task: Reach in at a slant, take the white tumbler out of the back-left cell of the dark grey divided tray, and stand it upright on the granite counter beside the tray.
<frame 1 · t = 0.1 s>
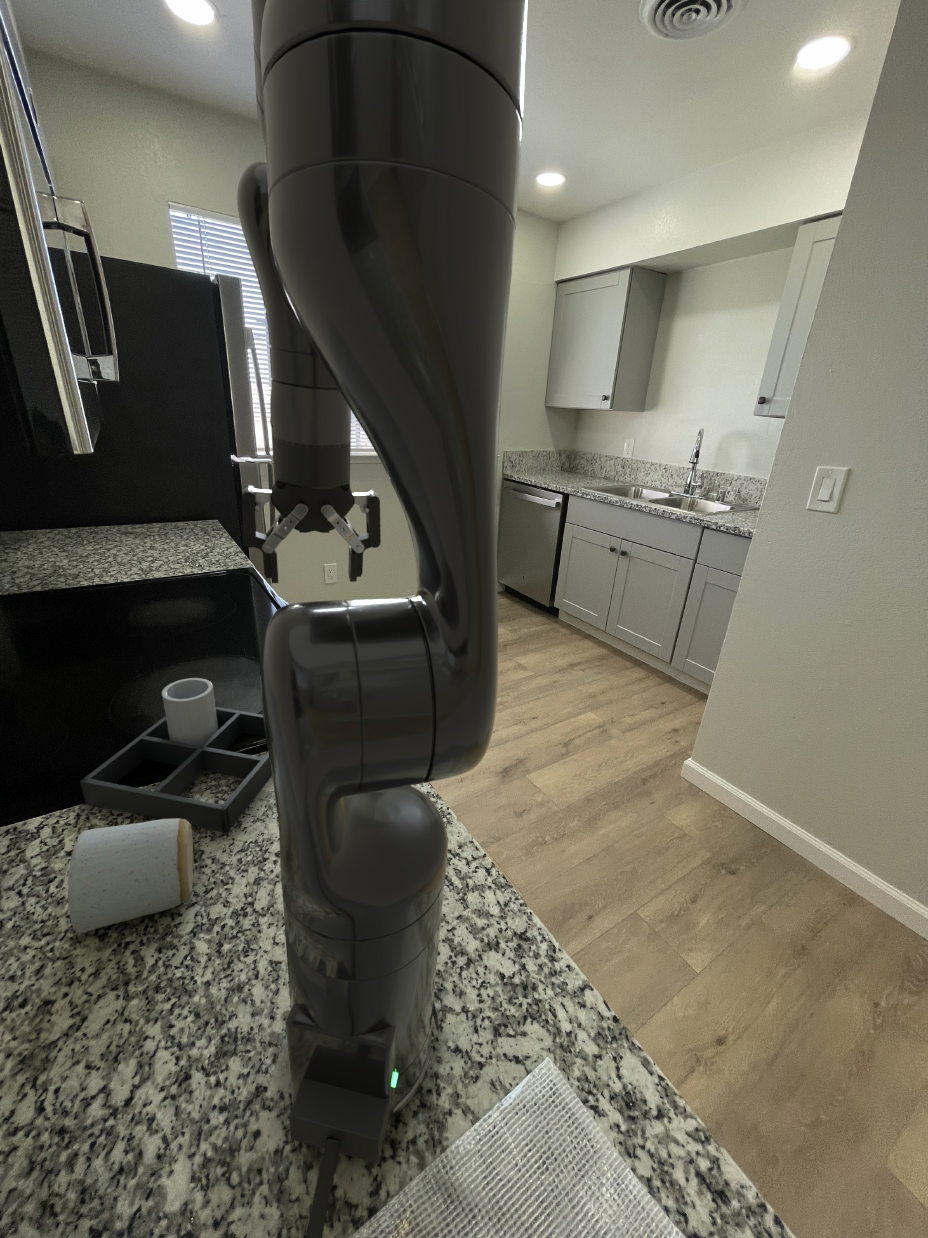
hand: (314, 579, 58), 22 cm above the countertop, tool pointing down, fingers open, 8 cm apart
ceramic mug: (142, 890, 45), on the countertop
white tumbler: (195, 743, 64), resting in dark grey divided tray
dark grey divided tray: (204, 768, 60), on the countertop
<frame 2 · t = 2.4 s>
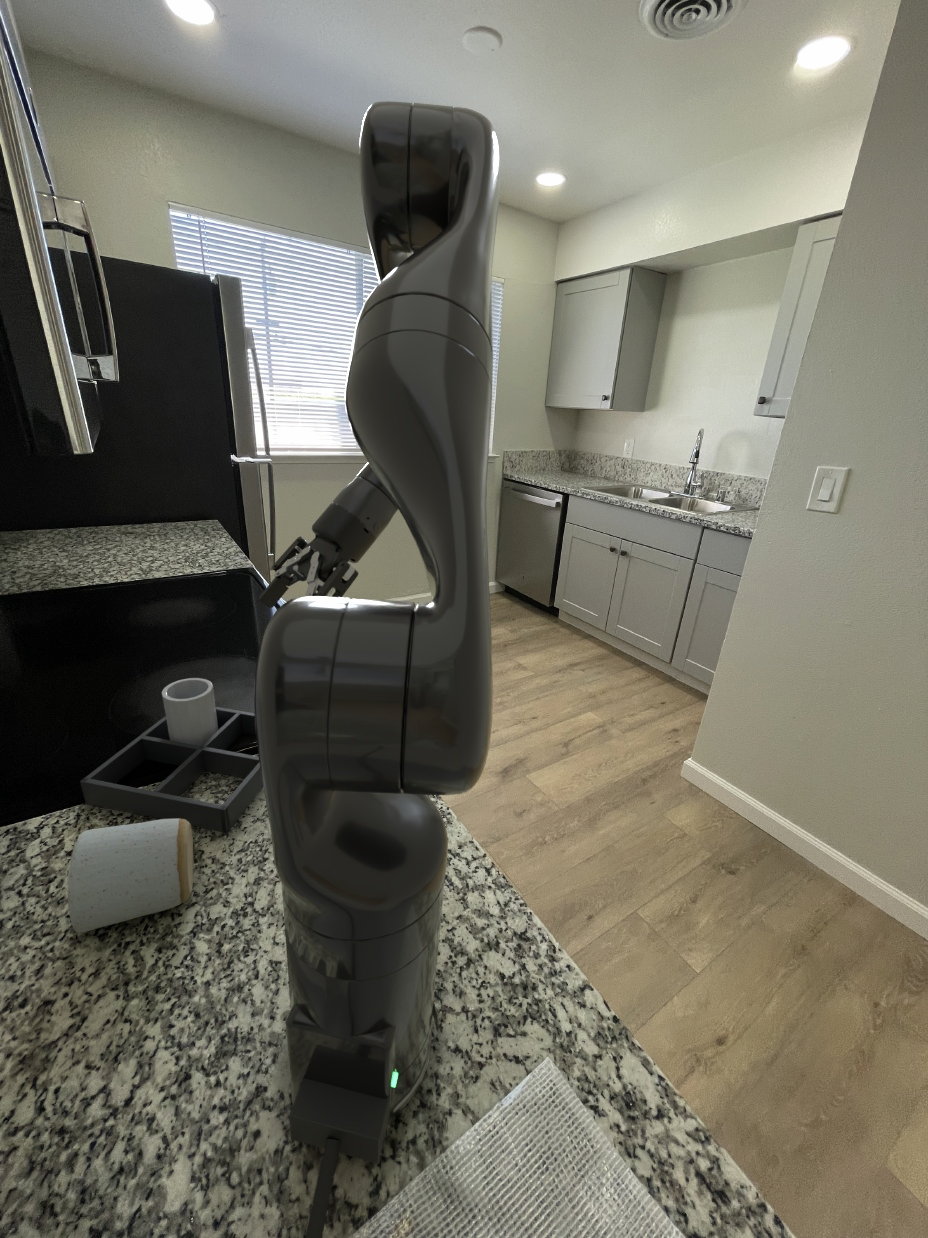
hand: (277, 615, 66), 15 cm above the countertop, tool tilted 45°, fingers open, 8 cm apart
nothing on the countertop moved.
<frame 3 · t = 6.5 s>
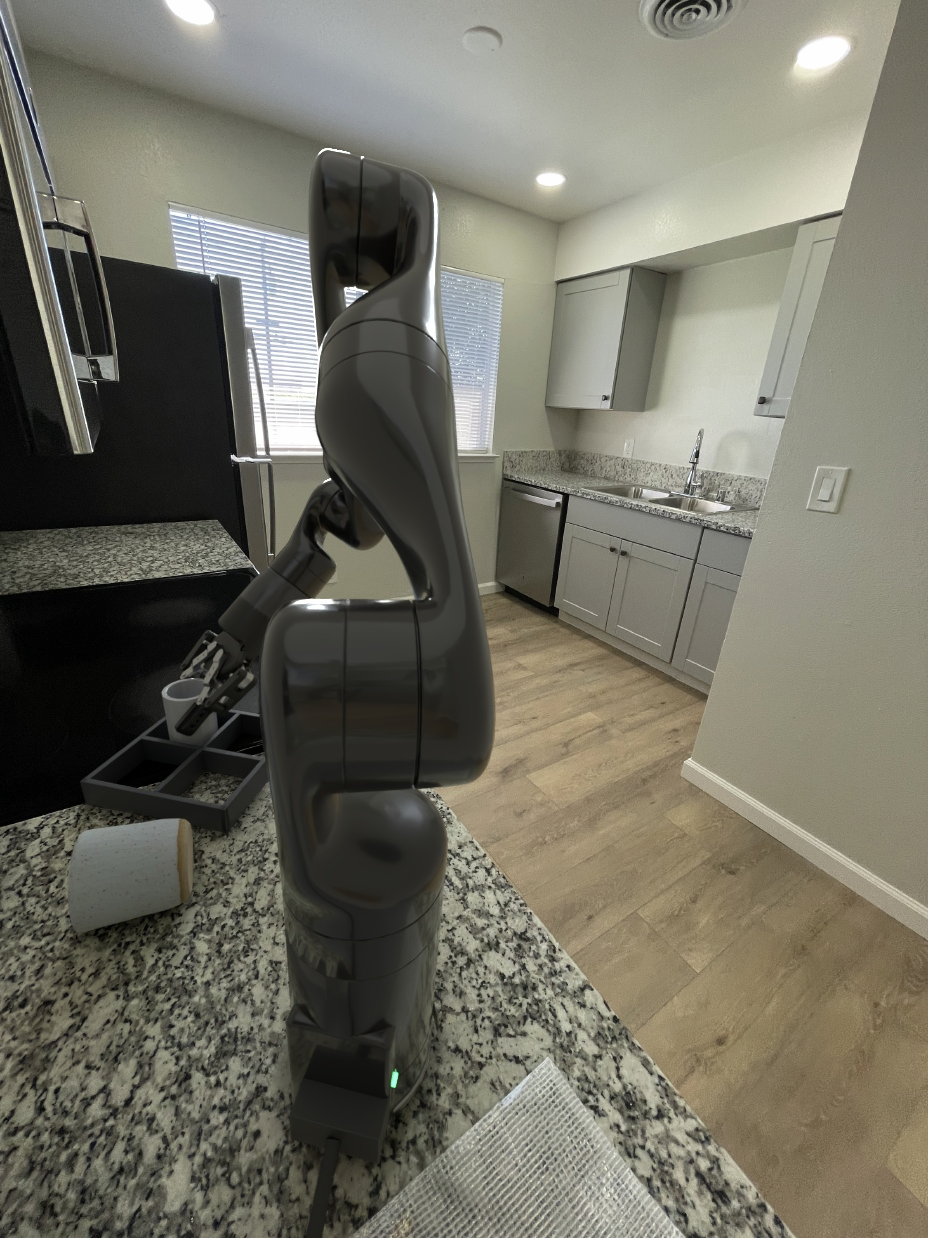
hand: (175, 720, 62), 4 cm above the countertop, tool tilted 45°, fingers closed on white tumbler, 5 cm apart
white tumbler: (195, 743, 64), resting in dark grey divided tray, touching gripper
everything else where it was.
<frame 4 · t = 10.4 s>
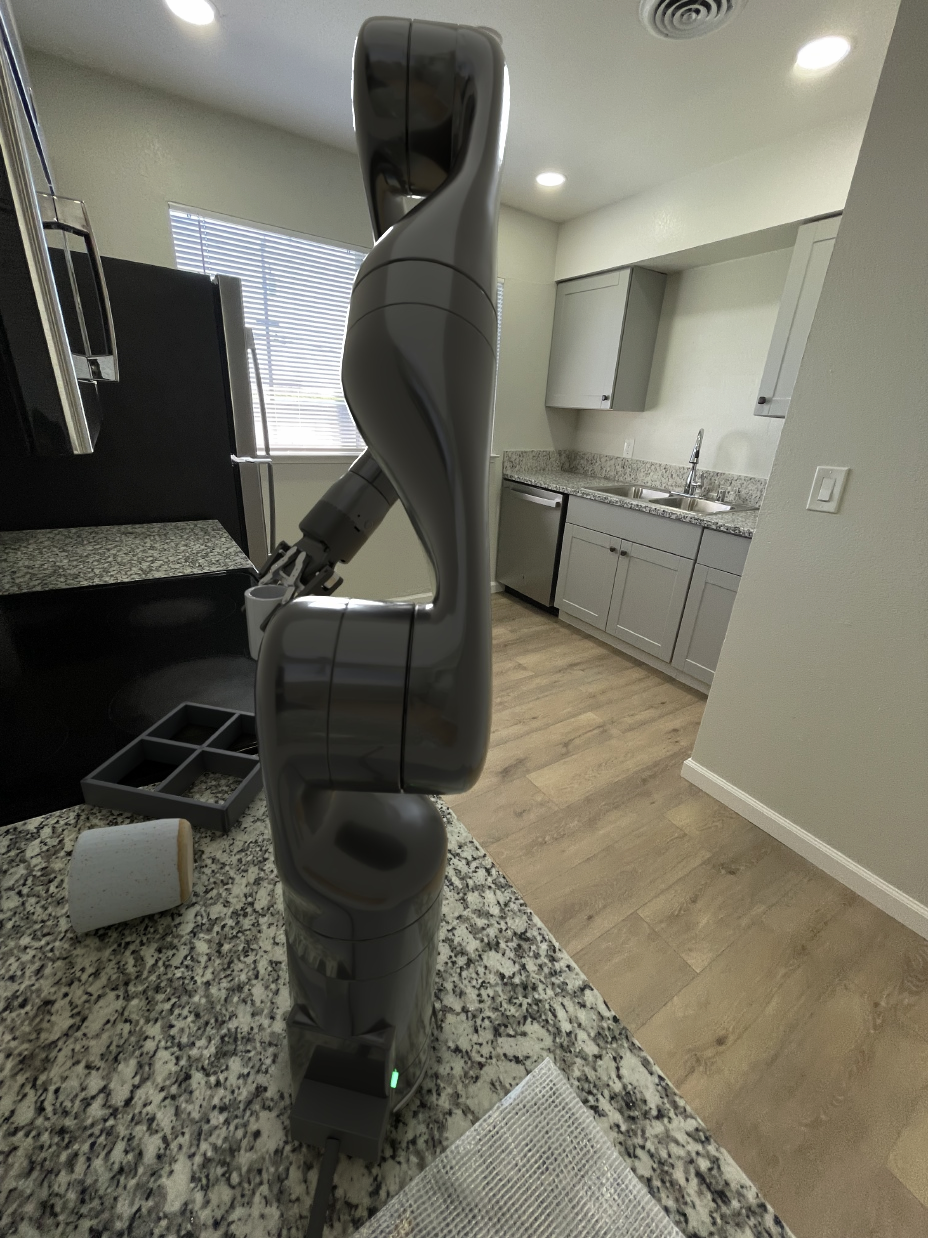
hand: (256, 624, 61), 16 cm above the countertop, tool tilted 45°, fingers closed on white tumbler, 5 cm apart
white tumbler: (273, 652, 63), point 12 cm above the countertop, touching gripper
everything else where it was.
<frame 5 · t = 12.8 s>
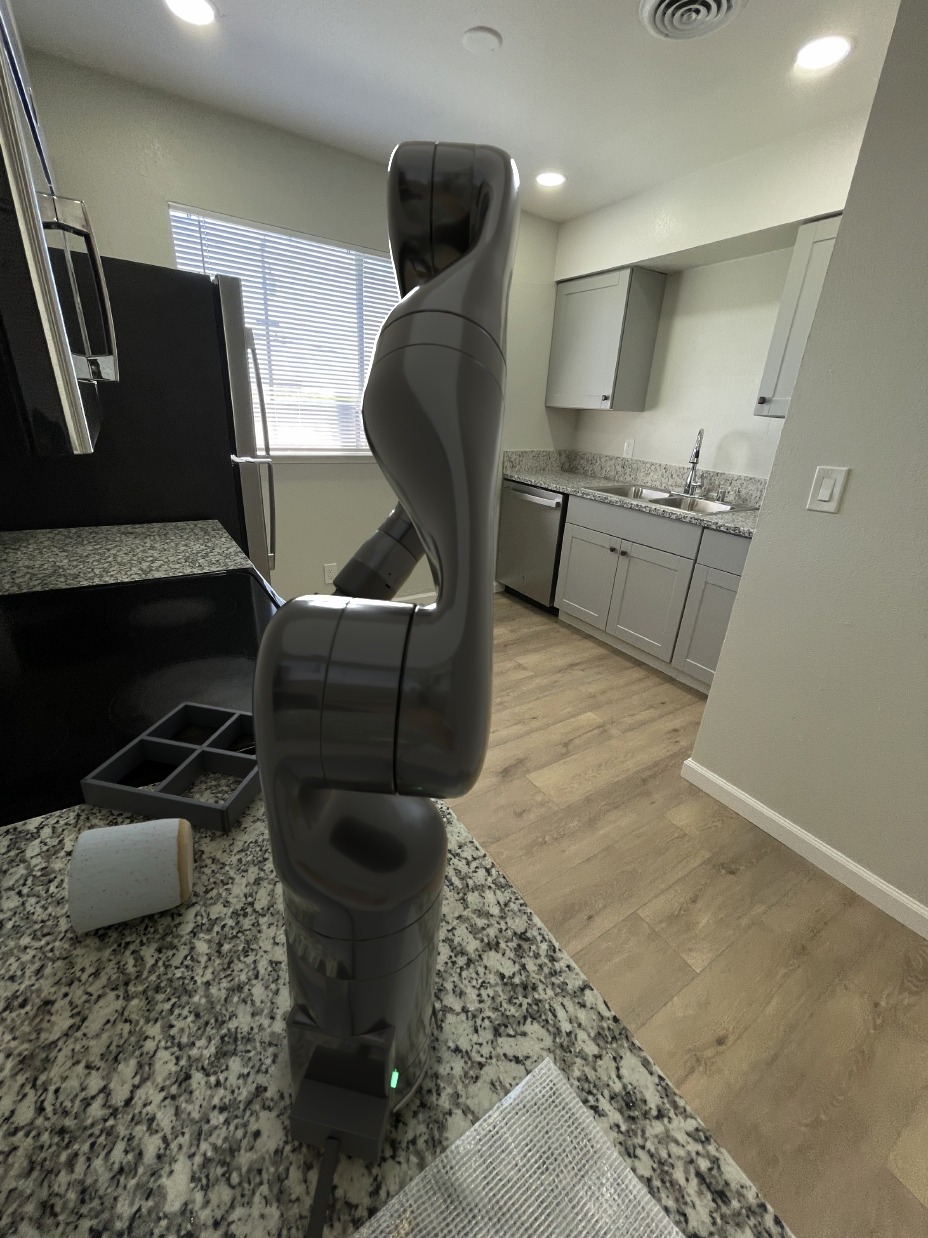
hand: (294, 675, 65), 9 cm above the countertop, tool tilted 45°, fingers closed on white tumbler, 5 cm apart
white tumbler: (308, 699, 68), point 4 cm above the countertop, touching gripper
everything else where it was.
when the fingers open (4 cm above the countertop, at t = 14.6 s): white tumbler stays where it is, on the countertop.
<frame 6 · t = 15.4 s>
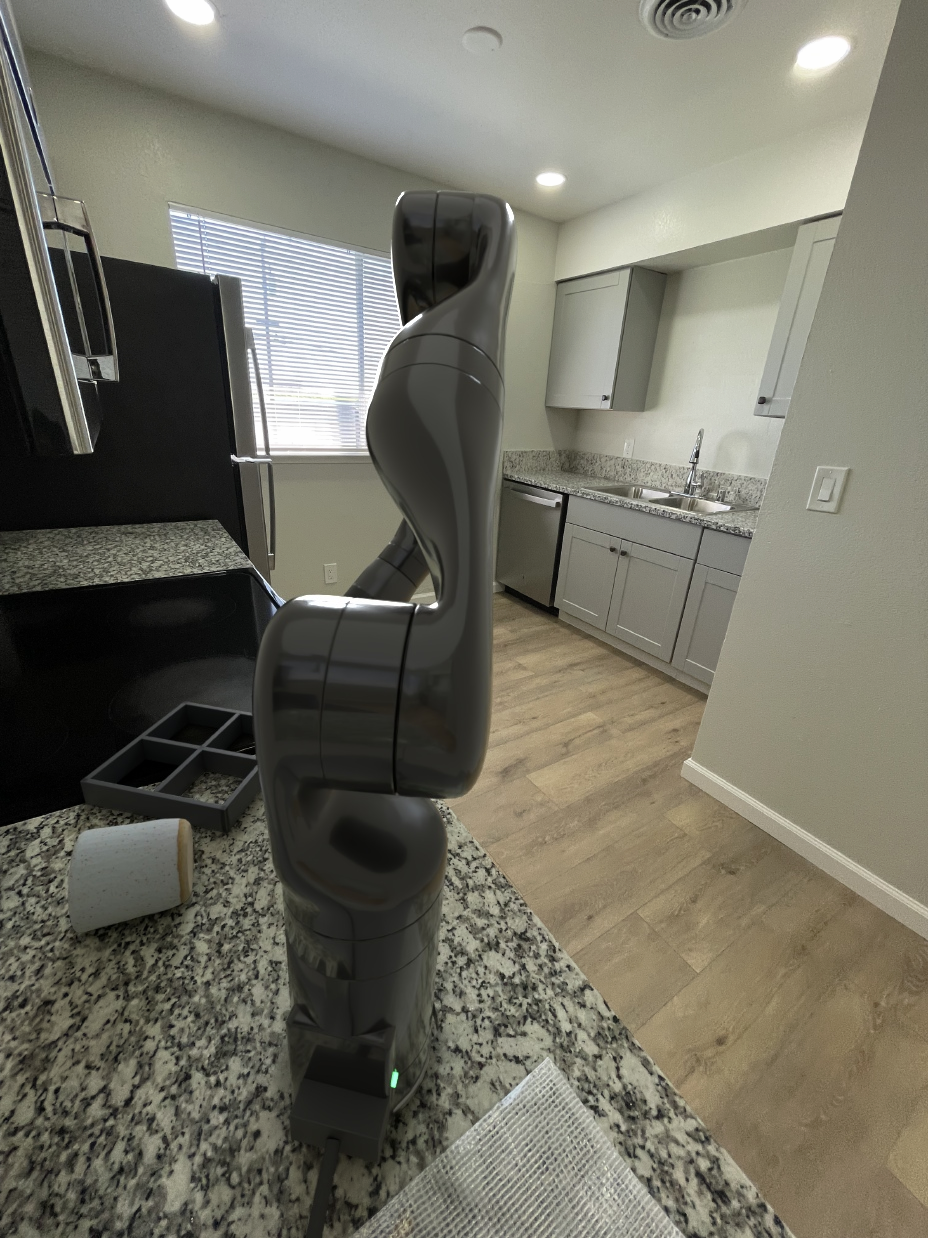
hand: (299, 696, 66), 5 cm above the countertop, tool tilted 45°, fingers open, 8 cm apart
white tumbler: (309, 727, 69), on the countertop
everything else where it was.
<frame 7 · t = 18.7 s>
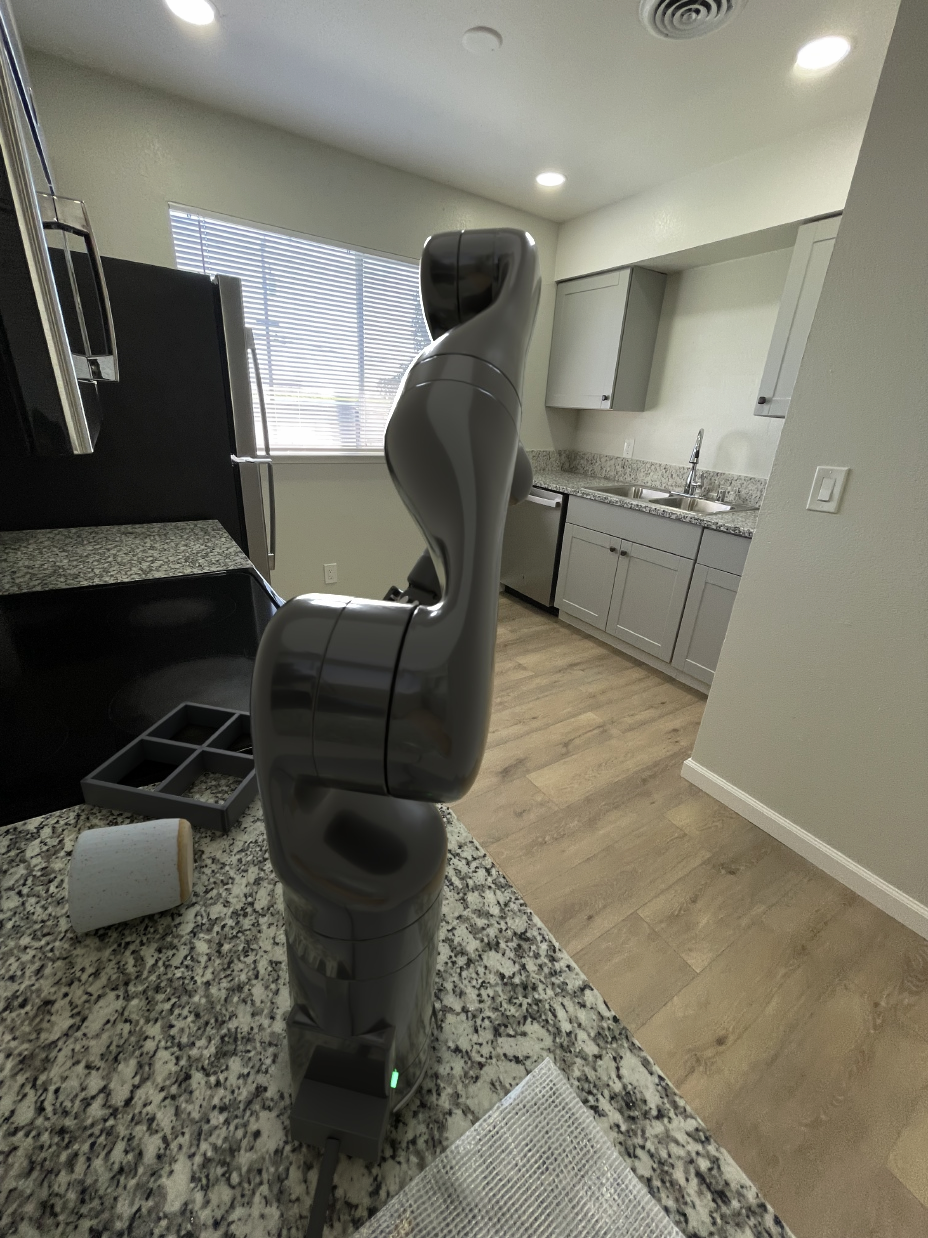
hand: (386, 660, 73), 7 cm above the countertop, tool tilted 40°, fingers open, 8 cm apart
nothing on the countertop moved.
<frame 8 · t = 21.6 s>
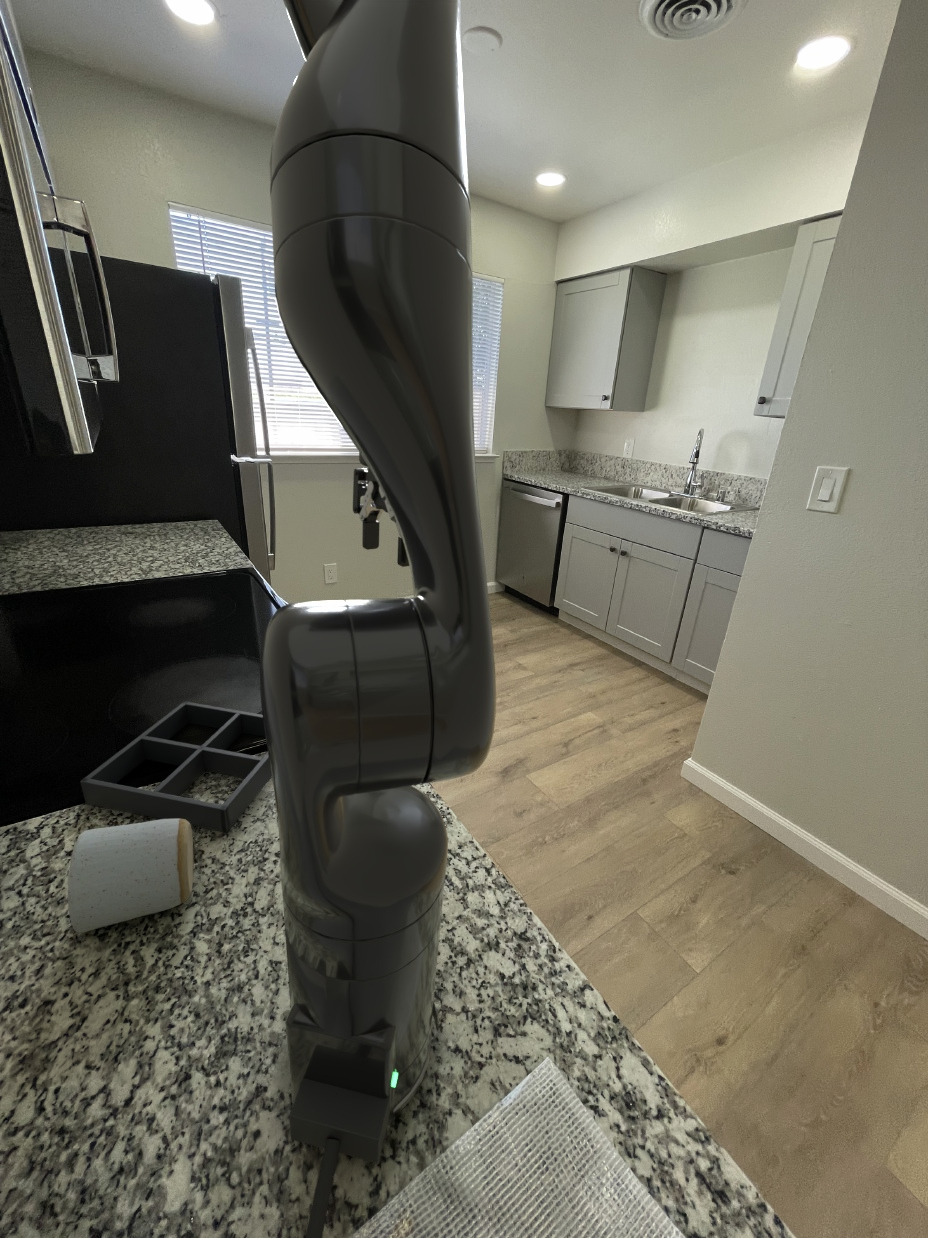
hand: (387, 556, 67), 23 cm above the countertop, tool pointing down, fingers open, 8 cm apart
nothing on the countertop moved.
at the end: white tumbler 0.1 cm from the target spot, on the countertop; white tumbler tilted 0°; the gripper is holding nothing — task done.
